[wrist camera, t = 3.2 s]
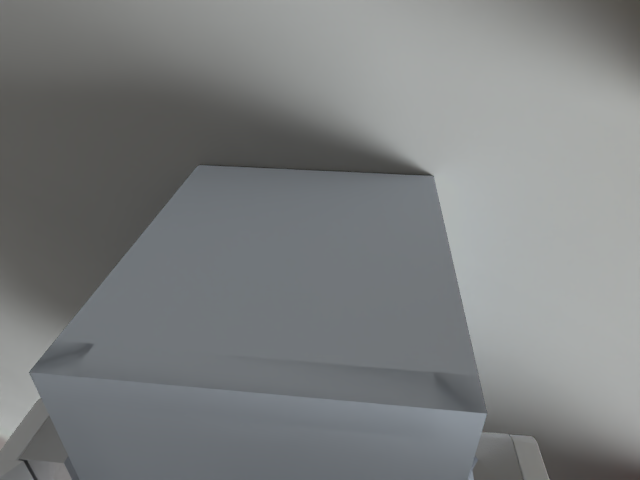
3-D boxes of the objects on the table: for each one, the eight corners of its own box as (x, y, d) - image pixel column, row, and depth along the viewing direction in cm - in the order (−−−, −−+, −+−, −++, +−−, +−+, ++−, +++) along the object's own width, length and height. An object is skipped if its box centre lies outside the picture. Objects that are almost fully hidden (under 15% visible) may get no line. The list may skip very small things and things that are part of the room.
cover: (433, 175, 12) (505, 494, 5) (399, 412, 16) (413, 735, 10) (197, 165, 12) (-26, 438, 6) (232, 397, 17) (134, 694, 10)
